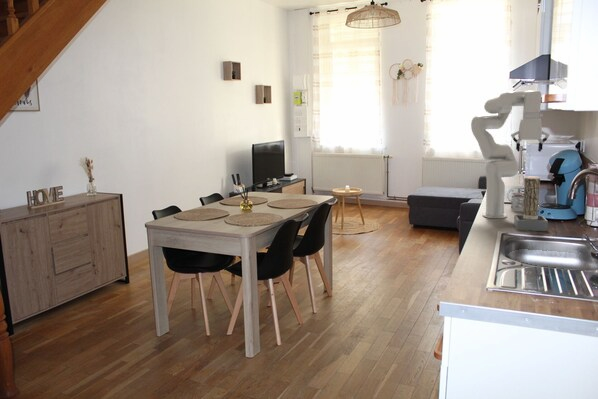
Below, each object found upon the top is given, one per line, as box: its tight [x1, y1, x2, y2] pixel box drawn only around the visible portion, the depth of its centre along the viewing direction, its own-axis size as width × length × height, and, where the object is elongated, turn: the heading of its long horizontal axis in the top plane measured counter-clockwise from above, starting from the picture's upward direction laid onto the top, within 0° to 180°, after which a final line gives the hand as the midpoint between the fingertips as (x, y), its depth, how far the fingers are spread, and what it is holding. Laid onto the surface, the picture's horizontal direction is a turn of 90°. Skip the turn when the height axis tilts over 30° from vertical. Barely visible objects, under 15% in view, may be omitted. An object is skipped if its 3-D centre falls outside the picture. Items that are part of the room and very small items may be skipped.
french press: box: [506, 167, 525, 212], centre depth 292 cm, size 10×12×25 cm
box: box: [513, 214, 549, 232], centre depth 248 cm, size 14×14×5 cm
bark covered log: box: [522, 175, 541, 221], centre depth 247 cm, size 7×7×25 cm
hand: (528, 151), depth 245 cm, fingers open, 9 cm apart
